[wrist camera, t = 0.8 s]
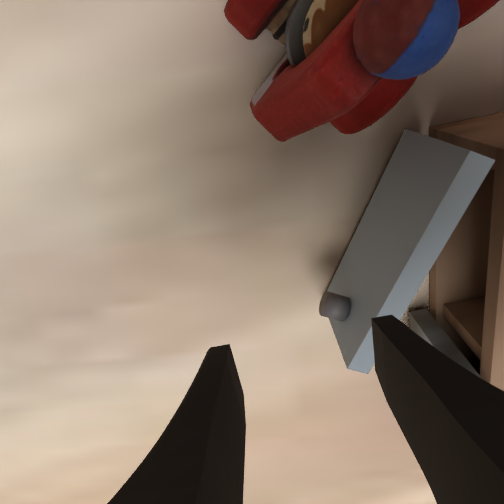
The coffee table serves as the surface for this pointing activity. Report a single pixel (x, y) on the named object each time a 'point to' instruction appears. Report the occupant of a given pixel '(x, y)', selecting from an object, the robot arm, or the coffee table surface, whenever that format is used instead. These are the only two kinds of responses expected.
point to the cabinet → (471, 264)
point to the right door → (399, 238)
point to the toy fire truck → (346, 56)
